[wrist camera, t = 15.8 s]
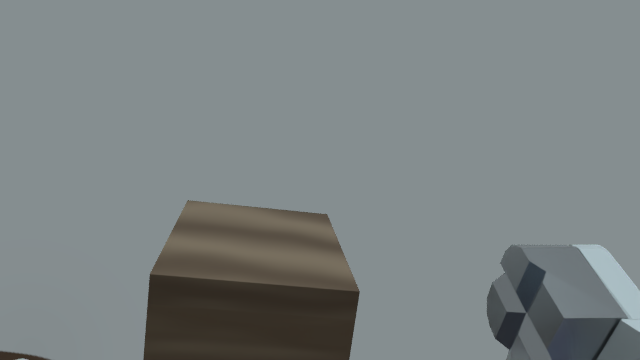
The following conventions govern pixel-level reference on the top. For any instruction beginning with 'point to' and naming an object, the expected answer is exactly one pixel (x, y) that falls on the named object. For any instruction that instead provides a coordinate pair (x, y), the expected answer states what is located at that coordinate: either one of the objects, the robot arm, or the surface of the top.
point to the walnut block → (250, 287)
